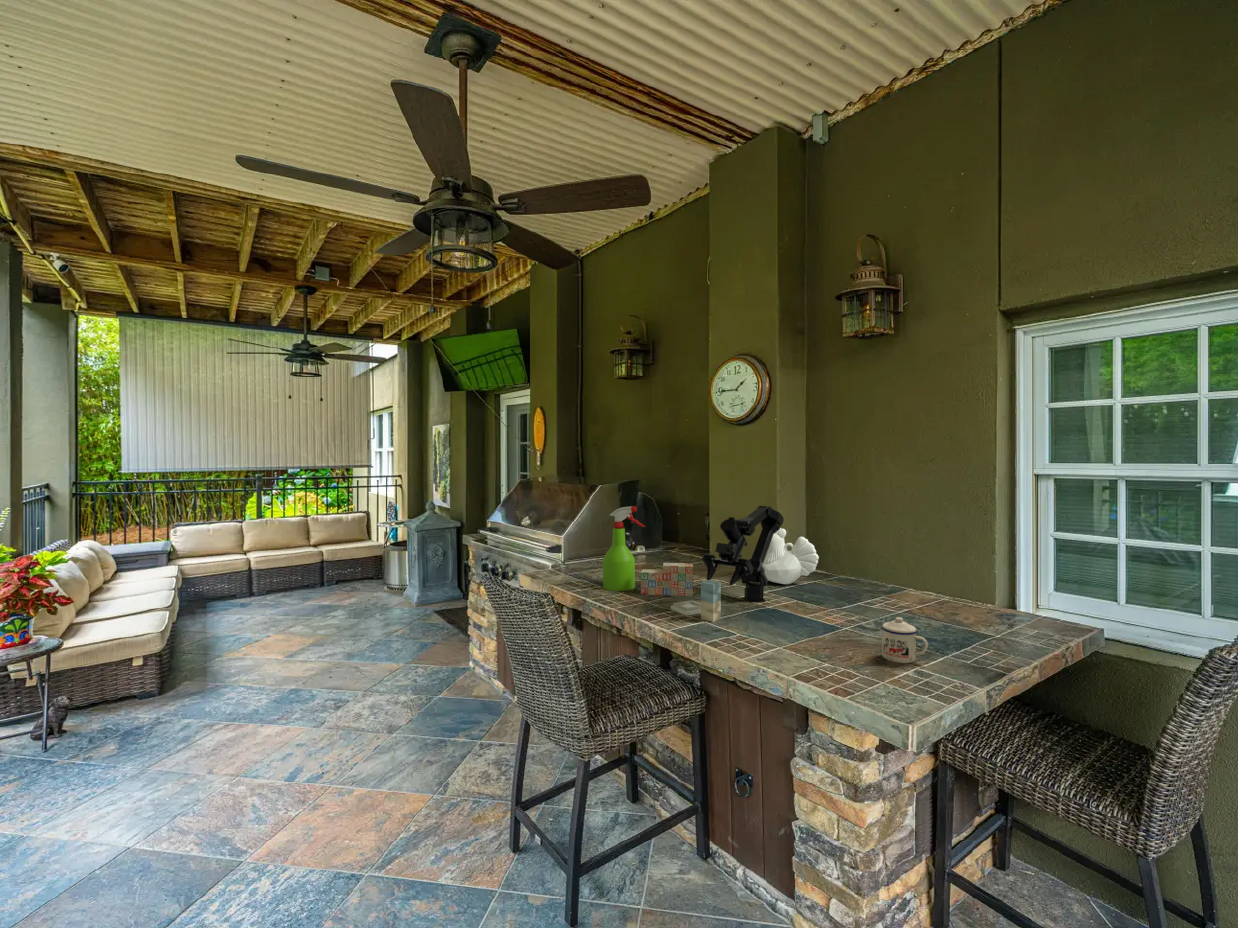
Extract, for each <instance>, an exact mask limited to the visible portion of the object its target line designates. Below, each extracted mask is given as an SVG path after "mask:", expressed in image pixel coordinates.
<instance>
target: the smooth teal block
mask: <svg viewBox="0 0 1238 928" xmlns="http://www.w3.org/2000/svg"><path fill="white" fill-rule="evenodd" d="M721 584H722V582H721V581H717V580H712V579H711V580H707V579H706V580H704V581H702V582H700V604H701V613H700V620H702V621H708V622H713V623H714V622H716V621H718V620H721V619H722V617H721V615H722V613H721V611H722V609H721V607H722V605H721V603H722V601H721V600H722V596H721V595H722V594H721V593H722V592H721V591H722V585H721Z"/></svg>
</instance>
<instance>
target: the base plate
mask: <svg viewBox="0 0 1238 928" xmlns="http://www.w3.org/2000/svg"><path fill="white" fill-rule="evenodd" d="M670 610H673V611H675V612H677V613H680V614H681V615H684V616H692V615H697V614H701V602H698V601H695V600H693V599H692V600H691V599H690V600H686V601H680V602H679V601H678V602H673V604H672V605H670Z"/></svg>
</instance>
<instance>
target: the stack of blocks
mask: <svg viewBox="0 0 1238 928" xmlns="http://www.w3.org/2000/svg"><path fill="white" fill-rule="evenodd" d="M662 564H663V565H662V569H641V571H640V595H648V596H653V595H654V596H679V597H680V596H681V597H693V595H694V593H693V591H694V588H693V586H694V564H693V563H685V562H678V563H677V562H663V563H662Z"/></svg>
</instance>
